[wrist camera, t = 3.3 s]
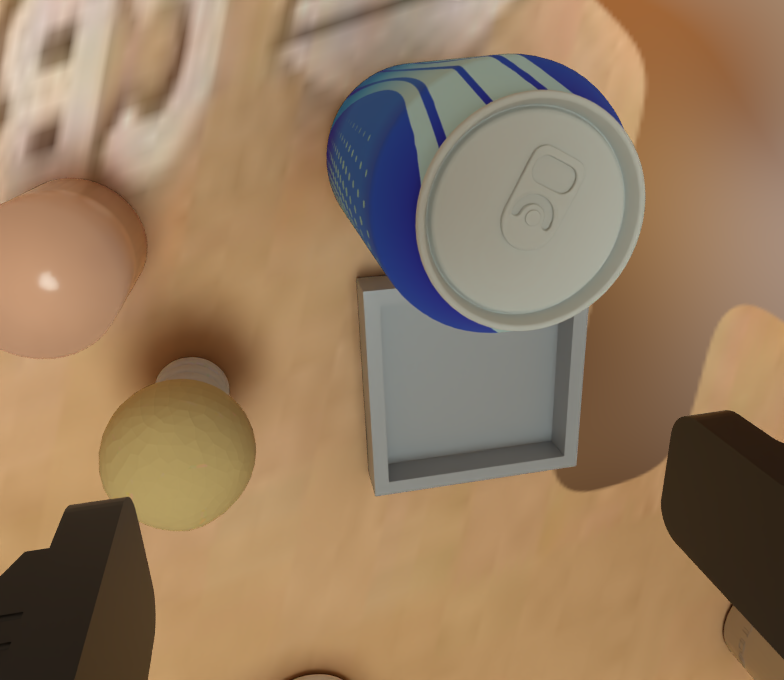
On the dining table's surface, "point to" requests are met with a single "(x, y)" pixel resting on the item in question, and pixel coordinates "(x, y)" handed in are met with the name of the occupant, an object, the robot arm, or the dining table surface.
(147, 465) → the light bulb
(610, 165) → the beer can
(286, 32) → the dining table surface
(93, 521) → the robot arm
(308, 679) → the supplement bottle
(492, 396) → the tray
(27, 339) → the beige rounded block
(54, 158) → the dining table surface
